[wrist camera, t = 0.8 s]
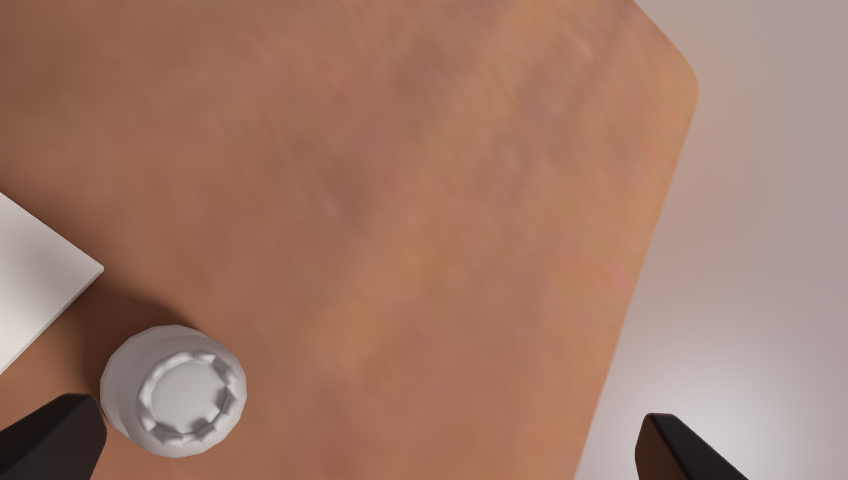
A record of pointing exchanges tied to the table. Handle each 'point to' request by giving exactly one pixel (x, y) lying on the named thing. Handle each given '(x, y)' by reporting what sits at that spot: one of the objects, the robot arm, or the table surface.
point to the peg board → (35, 278)
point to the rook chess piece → (173, 390)
